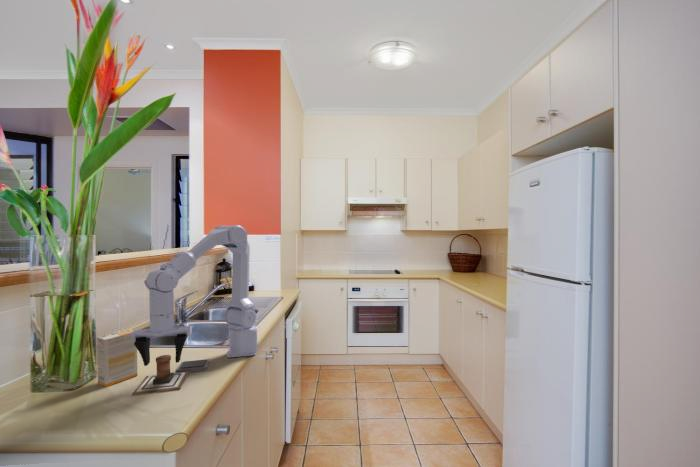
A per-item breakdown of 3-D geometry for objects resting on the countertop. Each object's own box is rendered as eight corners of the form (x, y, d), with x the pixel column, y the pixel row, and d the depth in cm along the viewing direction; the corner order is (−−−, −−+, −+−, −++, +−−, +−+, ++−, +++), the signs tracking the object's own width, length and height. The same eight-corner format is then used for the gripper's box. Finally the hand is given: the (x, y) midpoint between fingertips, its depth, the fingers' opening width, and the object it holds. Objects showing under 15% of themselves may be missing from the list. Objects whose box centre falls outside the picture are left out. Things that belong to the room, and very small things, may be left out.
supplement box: (129, 372, 95) (129, 328, 95) (138, 375, 93) (137, 330, 93) (96, 383, 88) (96, 336, 88) (105, 387, 86) (104, 338, 86)
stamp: (173, 376, 91) (173, 354, 91) (169, 383, 87) (169, 359, 87) (157, 378, 90) (157, 355, 90) (152, 384, 86) (152, 361, 86)
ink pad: (209, 362, 102) (209, 358, 102) (205, 370, 96) (205, 365, 96) (181, 365, 100) (181, 361, 100) (176, 373, 94) (176, 368, 94)
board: (188, 373, 94) (188, 370, 94) (179, 389, 85) (179, 386, 85) (146, 377, 92) (146, 375, 92) (132, 395, 82) (132, 392, 82)
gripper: (125, 319, 82) (126, 372, 83) (187, 315, 86) (188, 365, 86) (136, 312, 89) (137, 361, 89) (193, 308, 93) (193, 355, 93)
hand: (162, 362), depth 88 cm, fingers open, 7 cm apart
